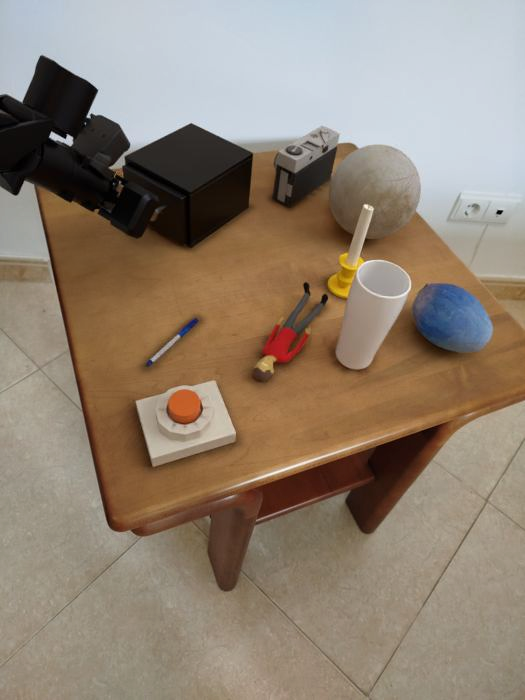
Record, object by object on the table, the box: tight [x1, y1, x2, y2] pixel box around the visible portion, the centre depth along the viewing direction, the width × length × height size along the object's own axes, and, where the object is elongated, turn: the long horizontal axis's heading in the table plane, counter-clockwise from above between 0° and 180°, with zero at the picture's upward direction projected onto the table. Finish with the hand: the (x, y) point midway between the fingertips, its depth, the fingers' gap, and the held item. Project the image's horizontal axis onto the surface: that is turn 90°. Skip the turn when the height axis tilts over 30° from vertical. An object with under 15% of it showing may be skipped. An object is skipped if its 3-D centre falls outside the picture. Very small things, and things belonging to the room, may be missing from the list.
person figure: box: [252, 281, 329, 382], centre depth 68 cm, size 5×4×18 cm
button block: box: [135, 379, 237, 468], centre depth 58 cm, size 10×8×4 cm
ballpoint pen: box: [145, 317, 199, 367], centre depth 67 cm, size 10×1×1 cm, turn 148°
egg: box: [411, 282, 494, 354], centre depth 70 cm, size 9×9×15 cm
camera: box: [272, 125, 341, 209], centre depth 90 cm, size 14×8×10 cm, turn 141°
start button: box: [168, 389, 200, 424], centre depth 56 cm, size 4×4×2 cm
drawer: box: [121, 163, 188, 246], centre depth 80 cm, size 18×12×9 cm
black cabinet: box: [124, 122, 254, 249], centre depth 82 cm, size 16×14×11 cm
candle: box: [327, 203, 374, 299], centre depth 71 cm, size 5×5×16 cm
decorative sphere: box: [328, 144, 422, 240], centre depth 81 cm, size 15×15×15 cm
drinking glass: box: [335, 259, 412, 371], centre depth 63 cm, size 7×7×15 cm
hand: (133, 206), depth 73 cm, fingers closed, pressing on drawer
